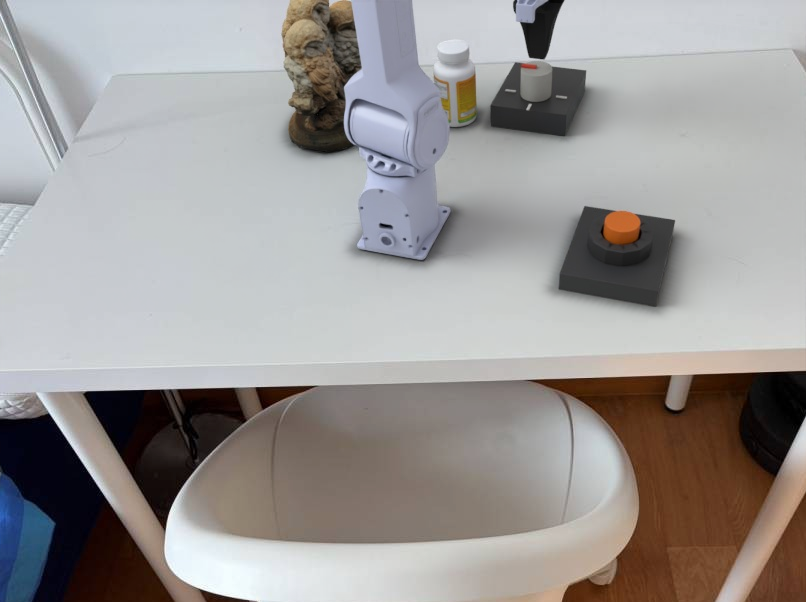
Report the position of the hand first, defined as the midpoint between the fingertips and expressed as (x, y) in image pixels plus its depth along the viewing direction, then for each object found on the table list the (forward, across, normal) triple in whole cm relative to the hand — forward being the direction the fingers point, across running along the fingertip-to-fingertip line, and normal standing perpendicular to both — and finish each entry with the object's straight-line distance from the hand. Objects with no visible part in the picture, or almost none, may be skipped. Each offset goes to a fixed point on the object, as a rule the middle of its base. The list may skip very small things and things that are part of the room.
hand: (538, 56), depth 98 cm
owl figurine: (+9, +8, -25) cm, 28 cm away
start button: (+5, +27, +16) cm, 31 cm away
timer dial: (+5, 0, 0) cm, 5 cm away
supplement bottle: (+9, +2, -10) cm, 14 cm away
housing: (+8, +26, +16) cm, 32 cm away
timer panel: (+8, -2, 0) cm, 9 cm away
